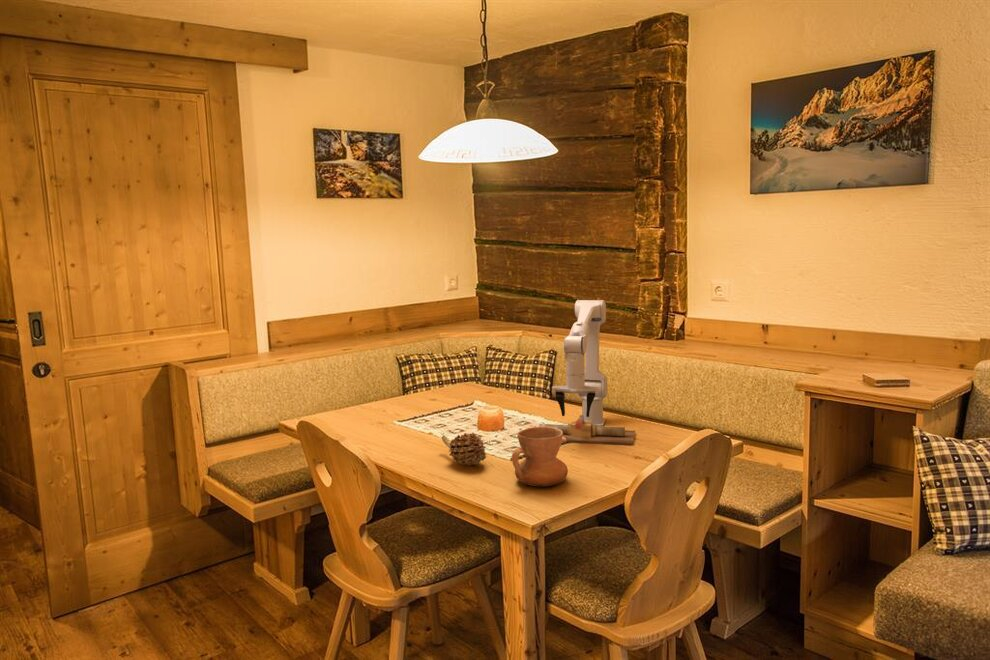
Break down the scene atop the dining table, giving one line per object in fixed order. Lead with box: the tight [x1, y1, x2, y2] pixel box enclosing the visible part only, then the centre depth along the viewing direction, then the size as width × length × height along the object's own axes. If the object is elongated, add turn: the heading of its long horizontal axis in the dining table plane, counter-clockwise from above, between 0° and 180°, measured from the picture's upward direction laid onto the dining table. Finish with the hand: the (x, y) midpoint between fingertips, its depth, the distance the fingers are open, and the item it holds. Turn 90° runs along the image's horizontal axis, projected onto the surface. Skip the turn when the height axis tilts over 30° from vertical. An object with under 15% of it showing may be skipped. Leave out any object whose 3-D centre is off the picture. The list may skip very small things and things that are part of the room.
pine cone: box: [441, 432, 487, 466], centre depth 221 cm, size 22×10×10 cm, turn 39°
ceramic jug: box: [511, 426, 569, 488], centre depth 202 cm, size 18×14×14 cm
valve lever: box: [575, 414, 584, 429], centre depth 239 cm, size 11×2×2 cm, turn 167°
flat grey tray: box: [538, 419, 636, 446], centre depth 244 cm, size 14×34×5 cm, turn 77°
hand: (575, 415), depth 233 cm, fingers open, 7 cm apart
